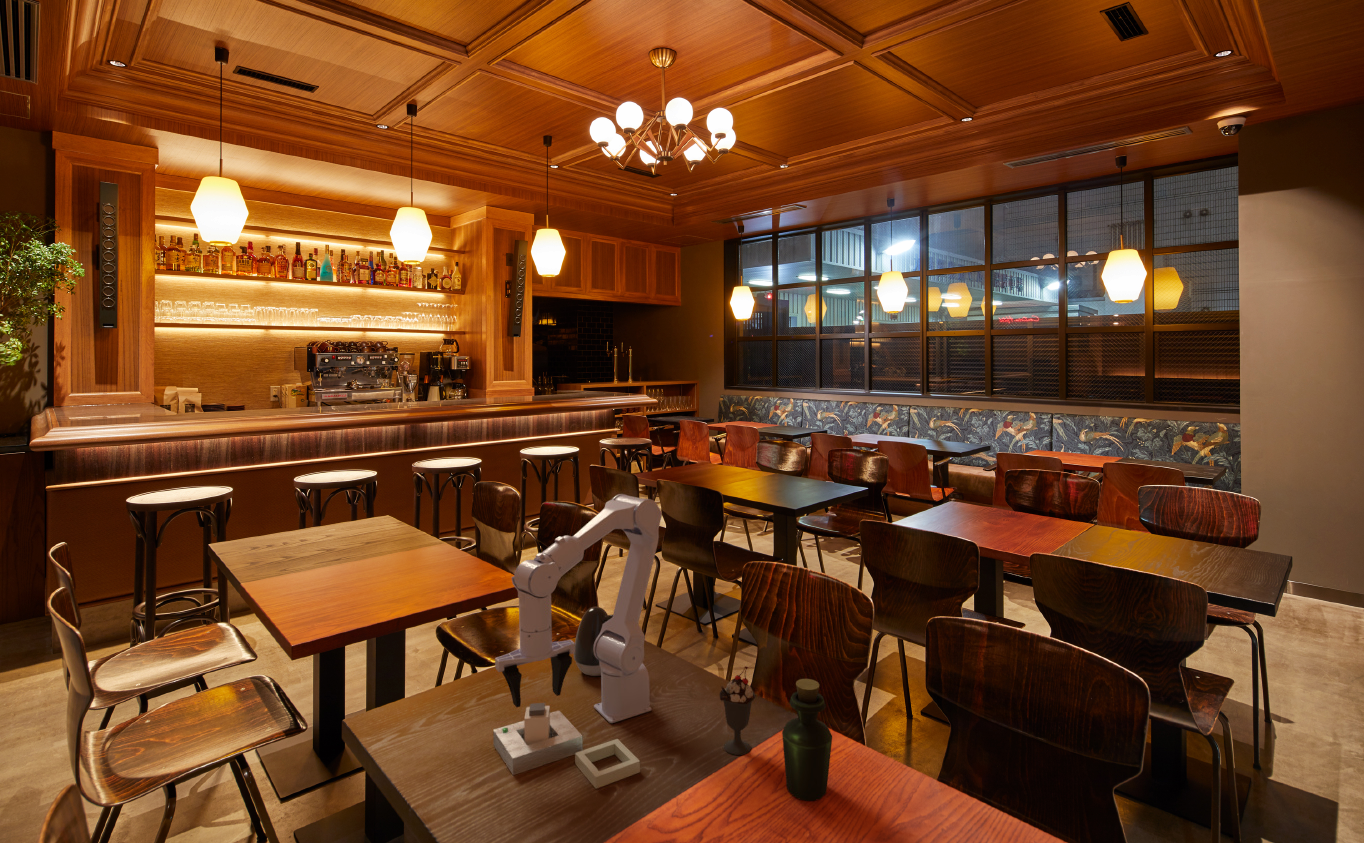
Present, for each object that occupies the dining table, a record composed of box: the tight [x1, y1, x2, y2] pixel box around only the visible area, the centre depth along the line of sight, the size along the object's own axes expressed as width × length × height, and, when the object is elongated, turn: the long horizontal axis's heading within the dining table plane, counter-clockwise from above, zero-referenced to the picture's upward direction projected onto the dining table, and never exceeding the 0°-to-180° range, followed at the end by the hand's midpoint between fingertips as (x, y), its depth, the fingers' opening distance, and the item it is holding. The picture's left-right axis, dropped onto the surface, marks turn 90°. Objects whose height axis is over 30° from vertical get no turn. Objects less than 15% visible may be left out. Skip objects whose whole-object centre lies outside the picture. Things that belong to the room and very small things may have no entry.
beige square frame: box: [574, 738, 641, 790], centre depth 115 cm, size 8×8×2 cm
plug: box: [523, 702, 551, 745], centre depth 121 cm, size 4×4×8 cm
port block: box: [492, 710, 584, 776], centre depth 121 cm, size 13×11×3 cm
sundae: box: [719, 665, 757, 756], centre depth 121 cm, size 7×7×15 cm
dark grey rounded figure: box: [573, 606, 613, 677], centre depth 152 cm, size 10×10×15 cm
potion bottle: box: [781, 678, 833, 802], centre depth 108 cm, size 8×8×18 cm
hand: (536, 698), depth 121 cm, fingers open, 7 cm apart
